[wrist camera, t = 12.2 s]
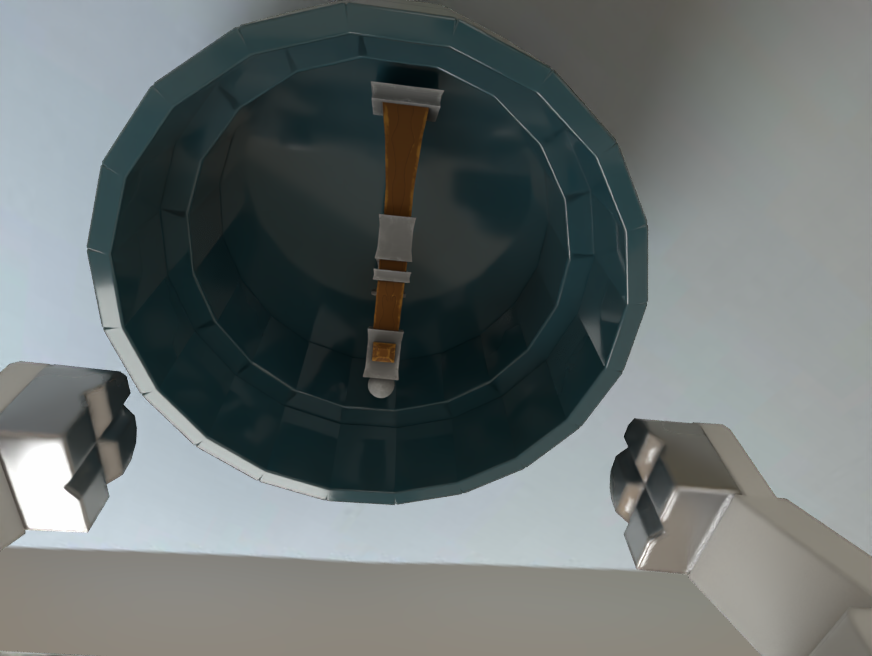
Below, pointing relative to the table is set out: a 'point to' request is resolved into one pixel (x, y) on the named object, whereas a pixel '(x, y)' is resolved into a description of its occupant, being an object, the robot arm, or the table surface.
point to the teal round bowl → (367, 254)
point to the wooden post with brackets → (395, 222)
